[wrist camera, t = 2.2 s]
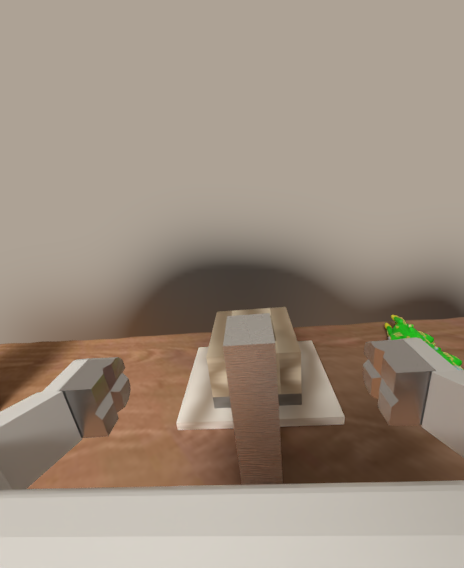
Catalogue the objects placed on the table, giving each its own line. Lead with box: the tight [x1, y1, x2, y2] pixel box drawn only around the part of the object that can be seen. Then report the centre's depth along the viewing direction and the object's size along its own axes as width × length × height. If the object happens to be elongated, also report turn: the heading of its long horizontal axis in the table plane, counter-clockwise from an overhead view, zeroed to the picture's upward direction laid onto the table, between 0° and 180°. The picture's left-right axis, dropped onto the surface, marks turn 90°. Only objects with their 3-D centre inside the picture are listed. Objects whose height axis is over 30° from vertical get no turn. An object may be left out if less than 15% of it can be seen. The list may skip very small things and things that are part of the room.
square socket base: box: [177, 307, 345, 430], centre depth 37 cm, size 20×16×9 cm
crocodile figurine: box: [385, 315, 464, 370], centre depth 39 cm, size 7×18×4 cm, turn 177°
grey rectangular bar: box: [223, 313, 283, 485], centre depth 25 cm, size 4×5×16 cm
